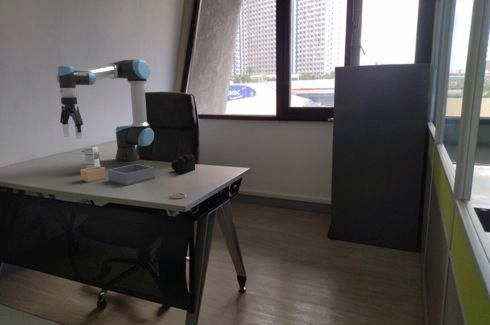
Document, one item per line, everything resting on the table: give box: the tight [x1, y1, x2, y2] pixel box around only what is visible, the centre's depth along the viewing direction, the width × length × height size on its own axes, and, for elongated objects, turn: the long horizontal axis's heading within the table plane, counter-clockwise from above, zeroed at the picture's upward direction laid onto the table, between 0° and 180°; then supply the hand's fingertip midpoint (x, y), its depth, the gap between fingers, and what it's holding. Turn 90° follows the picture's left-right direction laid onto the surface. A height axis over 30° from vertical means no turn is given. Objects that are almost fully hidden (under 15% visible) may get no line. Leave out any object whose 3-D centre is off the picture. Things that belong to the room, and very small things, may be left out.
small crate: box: [80, 166, 107, 184], centre depth 193 cm, size 10×7×6 cm
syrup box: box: [83, 145, 102, 169], centre depth 210 cm, size 6×6×14 cm
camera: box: [170, 154, 196, 175], centre depth 210 cm, size 14×11×10 cm
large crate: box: [107, 163, 156, 186], centre depth 192 cm, size 18×16×6 cm
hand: (72, 137), depth 191 cm, fingers open, 13 cm apart
